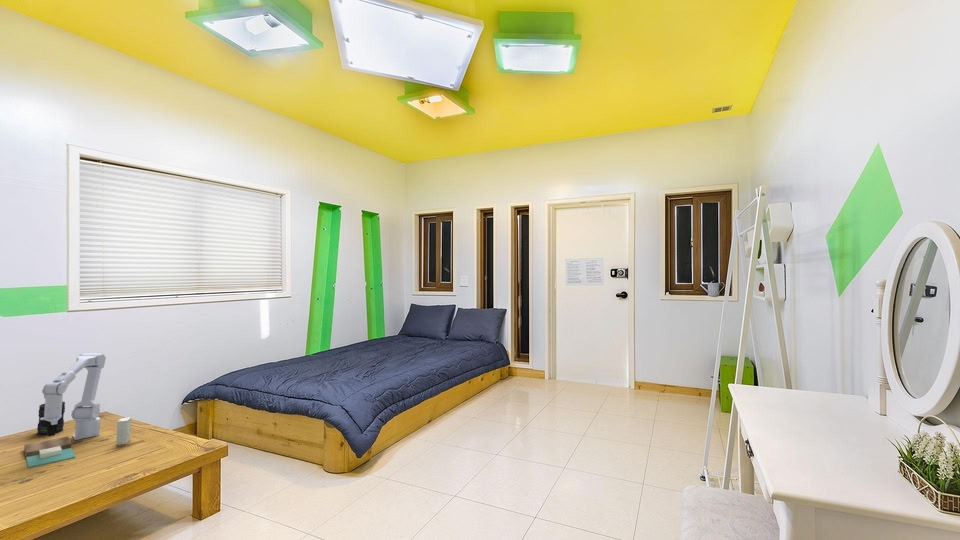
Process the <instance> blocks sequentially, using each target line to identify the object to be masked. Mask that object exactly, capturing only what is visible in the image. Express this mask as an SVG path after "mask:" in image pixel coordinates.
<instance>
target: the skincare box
mask: <svg viewBox="0 0 960 540" xmlns="http://www.w3.org/2000/svg"><path fill="white" fill-rule="evenodd" d="M131 421H132V417H131V416H128V417H127V416H126V417H121V418H119V419H118V421H116V440H115V444H116V445H117V446H119V445H127V444H128V443H129V442H130V440H131V427H132V426H131V425H132V424H131V423H132V422H131Z"/></svg>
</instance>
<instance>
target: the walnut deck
mask: <svg viewBox="0 0 960 540" xmlns="http://www.w3.org/2000/svg"><path fill="white" fill-rule="evenodd" d="M23 446H24V449H23V450H24V454H25V455H26V456H25V455H24V456H25V458H26V457H29V456H33V455H38V454H39V450H43V449H48V448H53V447H58V446H60V447H61V449H67V448H72V442H71V440H70V438H69V436H65V437H64V436H63V437H58V438H53V439H48V440H42V441H37V442H33V443H27V444H24V445H23Z"/></svg>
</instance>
